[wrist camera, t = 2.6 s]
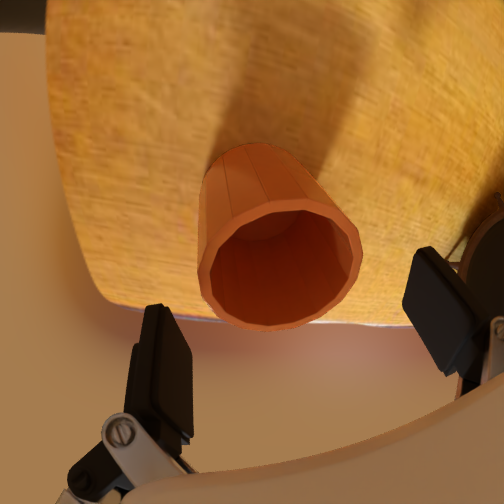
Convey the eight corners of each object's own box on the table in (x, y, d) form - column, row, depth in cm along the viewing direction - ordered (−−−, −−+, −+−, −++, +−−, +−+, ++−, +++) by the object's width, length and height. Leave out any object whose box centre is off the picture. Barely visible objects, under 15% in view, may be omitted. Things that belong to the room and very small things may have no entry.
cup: (187, 227, 18) (181, 319, 12) (221, 127, 14) (232, 173, 8) (282, 250, 20) (314, 337, 14) (325, 165, 17) (390, 229, 10)
